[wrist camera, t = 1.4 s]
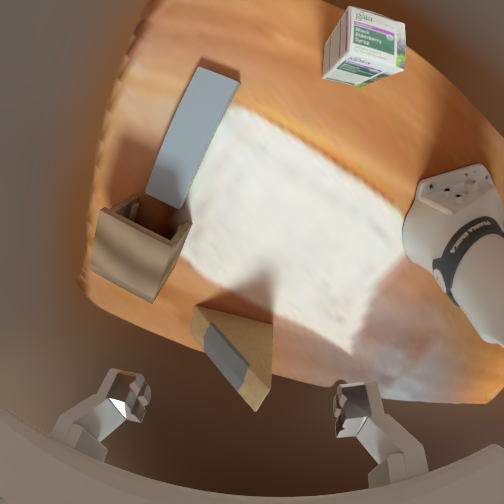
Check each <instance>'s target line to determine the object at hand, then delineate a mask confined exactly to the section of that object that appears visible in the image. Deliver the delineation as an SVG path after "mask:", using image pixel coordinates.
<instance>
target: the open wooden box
mask: <svg viewBox="0 0 504 504" xmlns="http://www.w3.org/2000/svg"><path fill="white" fill-rule="evenodd" d="M137 200H138V196H136V195H134V194H133V195H131V196H130V197H128V198H127V199H125V200H123V201H122V202H120V203H119V204H117V205H116V206H114V207H112V208H111V209H107V208H106V207H104V208H102V209H101V210H100V212H99V217H98V222H97V227H96V232H95V238H94V244H93V250H92V257H91V265H90V270H92V271H93V272H95V273H97V274H98V275H100V276H102V277H103V278H105V279H107V280H109V281H110V282H112V283H114V284H116V285H118V286H119V287H121V288H123V289H125V290H127V291H129V292H130V293H132V294H134V295H136V296H138V297H140V298H142V299H144V300H146V301H148V302H150V303H151V304H153V302H154V300H155V299H156V297H157V295H158V294H159V292H160V290H161V289H162V287H163V285H164V284H165V282H166V280H167V279H168V277H169V276H170V274H171V272H172V271H173V269H174V267H175V265H176V262H177V260H178V257H179V255H180V252H181V250H182V247H183V245H184V243H185V240H186V238H187V235H188V233H189V231H190V228H191V226H192V224H193V223H191V222H189V221H186V222H185V224H184V225H182V224H180V226H179V227H178V228H177V230H176V232H175V235H174V237H173V238H172V239H171V241H170V240H168V239H166V238H164V237H162V236H160V235H158V234H156V233H154V232H152V231H150V230H148V229H146V228H144V227H142V226H140V225H138V224H136V223H135V219H136V216H137V213H138V209H139V206H140V204H139V203H137Z"/></svg>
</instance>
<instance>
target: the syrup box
mask: <svg viewBox="0 0 504 504" xmlns="http://www.w3.org/2000/svg"><path fill="white" fill-rule="evenodd" d="M405 38H406V37H405V24H404V23H401V22H398V21H395V20H392V19H390V18H387V17H385V16H382V15H380V14H376V13H374V12H371V11H367V10H363V9H360V8H356V7H352V6H349V7H348V8H347V9H346V11H345V12H344V14H343V16H342V17H341V19H340V20H339V22H338V24H337V25H336V27H335V29H334V30H333V32H332V33H331V35H330V36H329V38H328V40H327V41H326V43H325V46H324V60H323V72H322V78H323V79H328V80H332V81H336V82H341V83H345V84H349V85H354V86H358V87H362V86H364V85H367V84H369V83H372V82H374V81H377V80H379V79H382V78H385V77H387V76H390V75H393V74H395V73H398V72H401V71H403V70H404V67H405V51H406V40H405Z"/></svg>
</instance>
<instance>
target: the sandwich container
mask: <svg viewBox="0 0 504 504" xmlns="http://www.w3.org/2000/svg"><path fill="white" fill-rule="evenodd" d="M190 334H191V335H192V336H193V338H194V339H195V340H196V341H197V343H198V344H199V345H200V346H201V348H202V349H203V350H204V351H205V353H206V354H207V355H208V356H209V358H210V359H211V360H212V361H213V363H214V364H215V365H216V366H217V367H218V369H219V370H220V371H221V372H222V374H223V375H224V376H225V377H226V378H227V379H228V381H229V382H230V383H231V384H232V385H233V387H234V388H235V389H236V390H237V391H238V393H239V394H240V395H241V396H242V397H243V398H244V399H245V401H246V402H247V403H248V404H249V405H250V406H251V408H252V409H253V410H254V411H255V412H256V411H257V409H258V408H259V406H260V405H261V403H262V401H263V400H264V398H265V397H266V395H267V394H268V392H269V390H270V388H271V373H272V346H273V325H272V324H268V323H264V322H260V321H257V320H253V319H249V318H245V317H242V316H237V315H233V314H229V313H225V312H221V311H217V310H213V309H209V308H205V307H201V306H197V305H195V306H194V310H193V315H192V320H191V330H190Z"/></svg>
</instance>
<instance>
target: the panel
mask: <svg viewBox="0 0 504 504" xmlns="http://www.w3.org/2000/svg"><path fill="white" fill-rule="evenodd" d="M239 86H240V83H239V82H238V81H235V80H233V79H230V78H228V77H225V76H223V75H220V74H218V73H215V72H213V71H210V70H207V69H204V68H202V67H199V66H198V68H197V70H196V72H195V74H194V76H193V78H192V80H191V82H190V84H189V86H188V88H187V90H186V92H185V94H184V96H183V98H182V100H181V102H180V104H179V107H178V109H177V111H176V113H175V115H174V118H173V120H172V122H171V124H170V127H169V129H168V131H167V134H166V136H165V139H164V141H163V144H162V146H161V149H160V151H159V154H158V156H157V159H156V162H155V164H154V167H153V170H152V172H151V175H150V178H149V181H148V184H147V187H146V190H145V193H146V194H148V195H150V196H152V197H154V198H156V199H158V200H160V201H162V202H164V203H166V204H168V205H170V206H173V207H175V208H177V209H180V208H181V207H182V206H183V204H184V201H185V199H186V196H187V194H188V192H189V189H190V187H191V185H192V182H193V180H194V178H195V175H196V173H197V171H198V169H199V166H200V164H201V162H202V160H203V158H204V156H205V153H206V151H207V149H208V147H209V145H210V143H211V141H212V139H213V136H214V134H215V132H216V130H217V128H218V126H219V124H220V122H221V120H222V118H223V116H224V114H225V112H226V111H227V109H228V107H229V105H230V103H231V101H232V99H233V97H234V95H235V93H236V92H237V90H238V88H239Z"/></svg>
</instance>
